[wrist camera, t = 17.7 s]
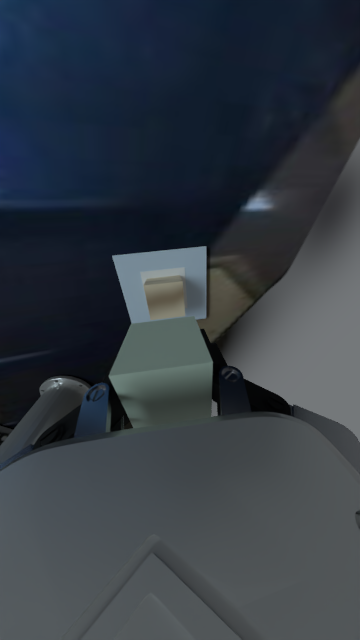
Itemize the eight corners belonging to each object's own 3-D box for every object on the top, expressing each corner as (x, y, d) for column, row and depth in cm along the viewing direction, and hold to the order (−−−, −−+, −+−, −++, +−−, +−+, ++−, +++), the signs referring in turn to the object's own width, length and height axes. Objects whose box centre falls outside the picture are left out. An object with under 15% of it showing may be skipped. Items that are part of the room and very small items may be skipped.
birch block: (182, 305, 29) (185, 316, 24) (152, 308, 28) (150, 320, 24) (179, 275, 26) (182, 281, 21) (147, 278, 26) (143, 285, 21)
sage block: (196, 361, 14) (211, 417, 9) (144, 368, 13) (134, 429, 9) (194, 316, 11) (212, 362, 7) (131, 323, 11) (108, 376, 7)
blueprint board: (205, 316, 32) (206, 318, 31) (133, 324, 31) (132, 327, 30) (204, 246, 25) (206, 246, 24) (114, 255, 24) (112, 256, 23)
